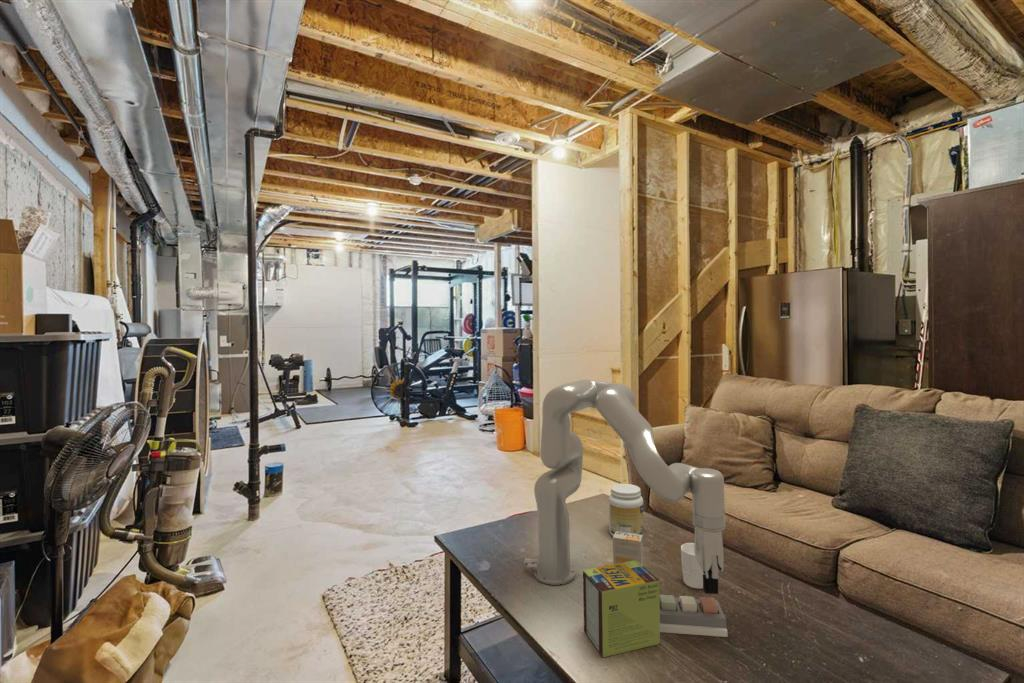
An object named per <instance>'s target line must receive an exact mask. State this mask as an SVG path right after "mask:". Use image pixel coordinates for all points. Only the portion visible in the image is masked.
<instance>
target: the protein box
mask: <svg viewBox="0 0 1024 683" xmlns="http://www.w3.org/2000/svg"><path fill="white" fill-rule="evenodd" d="M643 565H644V564H643ZM643 565H641V564H640V563H639V562H638V561H637V560H633V561H629V562H624V563H618V564H613V563H612V564H609V565H608V564H607V565H603V566H598V567H597V566H596V567H591V568H587V569H583V570H582V584H583V585H582V586H583V588H582V590H583V594H582V595H583V596H582V597H583V631H584V633H585V634H586V636H587V637H588V639H589V640H590V641H591V643H592V645H593V646H594V647H595V648H596V651H598V653H599V654H600V656H601V657H602V658H607V657H610V656H616V655H619V654H624V653H627V652H631V651H636V650H641V649H644V648H648V647H652V646H656V645H657V646H658V645H660V644H661V632H660V602H659V597H660V579H658V578H657V577H656V576H655V575H654V574H653V573H652V572H651V571H649V570H648V569H647V568H646V567H645V566H643Z"/></svg>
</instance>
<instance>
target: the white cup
mask: <svg viewBox="0 0 1024 683" xmlns="http://www.w3.org/2000/svg"><path fill="white" fill-rule="evenodd" d="M694 543H695V542H686V543H683V544H682V545H681V546H680V557H681V569H682V570H681V572H682V581H683V583H684V584H685V586H688V587H689V588H691V589H697V590H699V589H700V590H701V589H703V570H702V569H701V567H700V565H699V563H698V561H697V559H696V556H695V553H694ZM703 590H704V589H703Z"/></svg>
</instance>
